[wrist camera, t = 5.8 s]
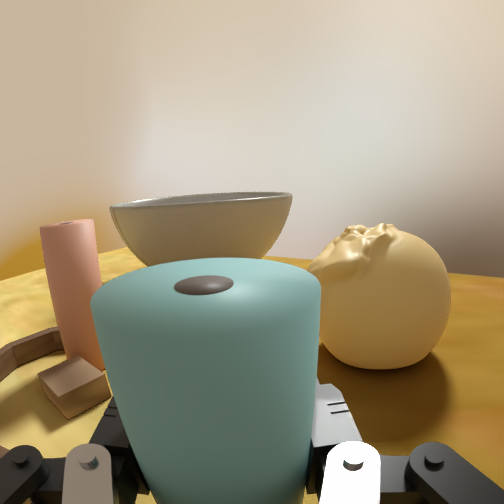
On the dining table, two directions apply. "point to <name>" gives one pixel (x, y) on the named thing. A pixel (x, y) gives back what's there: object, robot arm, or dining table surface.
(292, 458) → the teal cylinder
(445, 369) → the dining table surface
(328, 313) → the sculpture
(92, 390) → the brown ring
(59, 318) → the pink cylinder
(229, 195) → the decorative bowl
